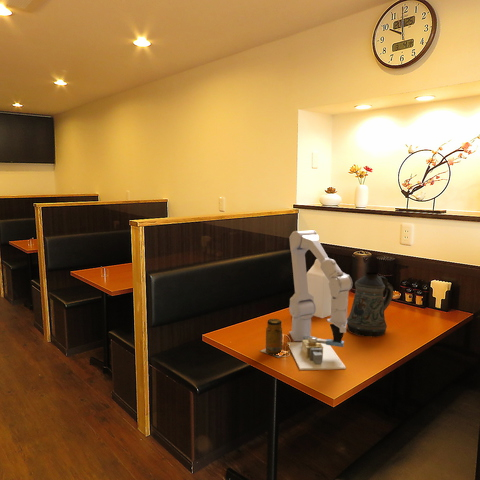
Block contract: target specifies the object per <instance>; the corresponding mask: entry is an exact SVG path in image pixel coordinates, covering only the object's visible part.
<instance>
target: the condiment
mask: <svg viewBox="0 0 480 480" xmlns="http://www.w3.org/2000/svg"><path fill="white" fill-rule="evenodd" d="M266 325H267V327H266V328H265V329H266V330H265V348H264V349H262V350H260V352H262V353H265V354H267V355H271V356H272V357H276V358H281V357H282V356H279V355H276V354H278V353H280V352H281V350H282V349H283V327H282V320H281V319H278V318H270V319H268V320H267V323H266ZM273 354H274V355H273Z"/></svg>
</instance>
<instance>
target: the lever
mask: <svg viewBox="0 0 480 480" xmlns="http://www.w3.org/2000/svg"><path fill="white" fill-rule="evenodd" d="M308 342H309V343H322V344H326V345H330V346H331V347H339V348H344V346H345V344H344V343H345V340H342V341H339V340H333V338H332V339H331V338H326V339H325V338H318V337H316V336H312V335H311V336H310V337H308Z"/></svg>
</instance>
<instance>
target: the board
mask: <svg viewBox="0 0 480 480" xmlns="http://www.w3.org/2000/svg"><path fill="white" fill-rule="evenodd" d="M289 344H290V346H288V345H289ZM321 345H322V346H323V358H322V363H321V365H315V363H314V361H310V358H306V357H305V355H304V353H303V352H302V341H293V342H292V341H291V342H289V341H287V346H288V348H289V350H290V352H291V354H292V357H293V358H294V359H293V360H294V361H295V362H296V365H297V367H298V369H299V370H300V371H313V370H314V371H317V370H321V371H322V370H346V369H347V367H346V365H345V364H344V363H343V361H342V359H340V357H339V356H338V355H337V353H336V351H335V350H334V349H333V346H331V345H326V344H322V343H321Z"/></svg>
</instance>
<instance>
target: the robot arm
mask: <svg viewBox="0 0 480 480" xmlns="http://www.w3.org/2000/svg"><path fill="white" fill-rule="evenodd" d="M289 248H290V253H291V254H290V255H291V263H292V264H291V265H292V273H293V274H292V275H293V276H292V277H293V285H294V294H293V295H292V296H291V297H290V298H289V307H288V311H289V314H290V316H291V317H292V319H291V331H289V332H288V333H289V335H290V337H291V339H292V341H293V342H302V340H303V336H312V335H311V333H312V318H313V317H314V315H313V314H314V313H315V312H316V304H315V302H314V297H313V296H312V295H311V294H309V293H308V283H307V263H306V262H307V261H306V254H307V251H310V252H311V253H312V255H314V257H315V258H316V259H318V260H319V262H320V263H321V266H320V268H321V270H322V271H323V273H324V274H325V276H326V277H327V279H328V280H329V288H330V291H331V293H330V294H331V296H332V301H331V315H330V318H326V321H327V323H329V327H330V329H331V332H332V336H333V338H332V340H339V341H343V336H344V335H345V333H347V330H348V328H347V318H348V305H349V291H350V290H352V289H353V284H354V283H353V279H352V277H351V276H350V274H347V273H345V272H343V271H342V270H341V268H340V267H339V265H338V264H337V262H336V260H335V259H332V258H330V257H328V254H327V253H326V251H325V249H324V247H323V246H322V243H320V236H319V234H318V232H317V231H316V230H314V229H310V230H294V231H292V233H290V236H289Z"/></svg>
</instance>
